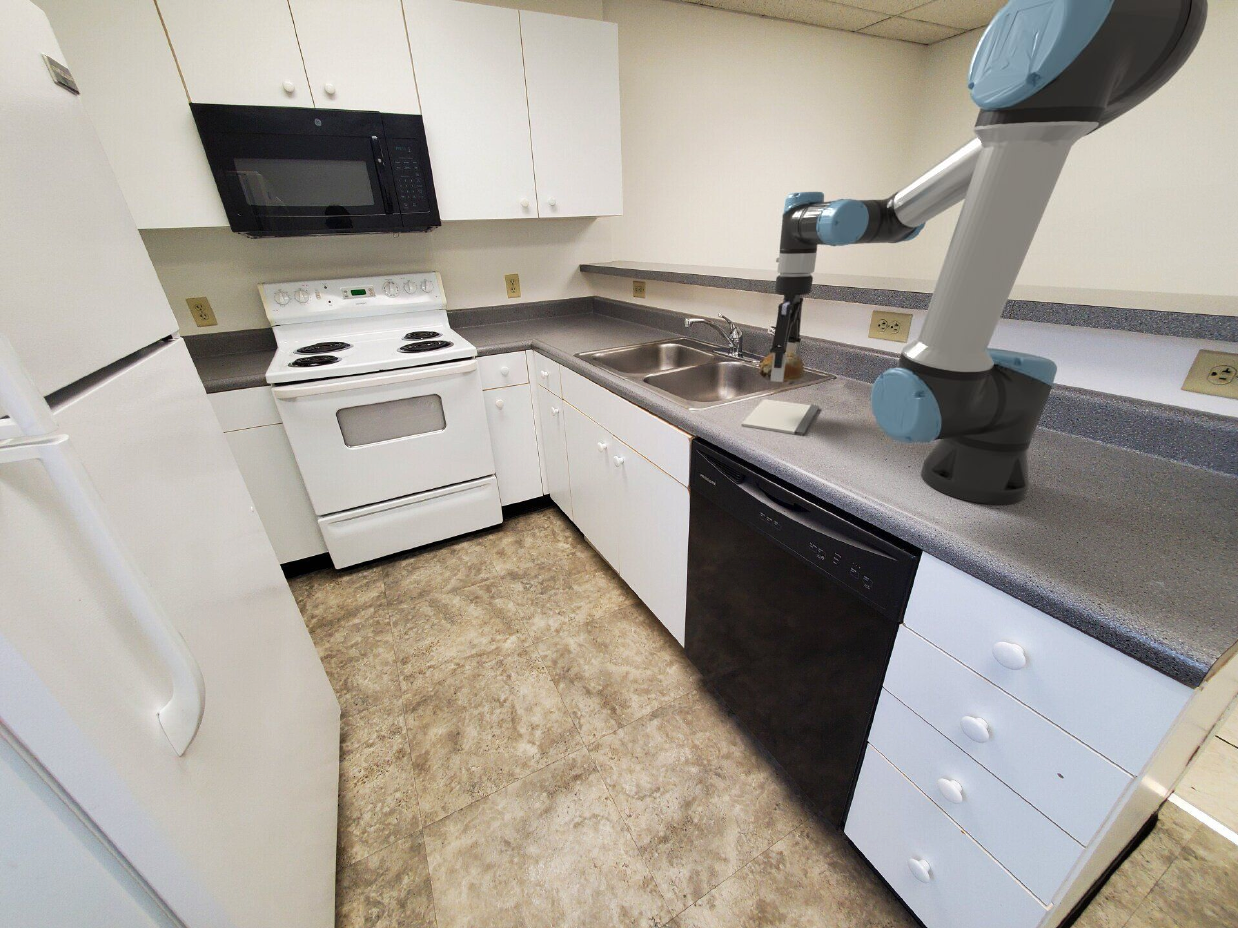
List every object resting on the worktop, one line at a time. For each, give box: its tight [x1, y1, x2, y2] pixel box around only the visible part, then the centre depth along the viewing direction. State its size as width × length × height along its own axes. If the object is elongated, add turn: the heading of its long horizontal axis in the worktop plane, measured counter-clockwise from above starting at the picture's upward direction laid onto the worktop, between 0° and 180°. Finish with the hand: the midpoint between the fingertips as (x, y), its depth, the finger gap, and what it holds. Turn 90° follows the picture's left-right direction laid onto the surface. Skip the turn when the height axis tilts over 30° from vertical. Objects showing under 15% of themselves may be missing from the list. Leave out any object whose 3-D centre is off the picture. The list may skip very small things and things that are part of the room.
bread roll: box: [758, 350, 805, 383], centre depth 111 cm, size 10×10×8 cm
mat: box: [741, 398, 820, 437], centre depth 116 cm, size 20×14×1 cm
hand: (782, 375), depth 112 cm, fingers closed on bread roll, 10 cm apart
